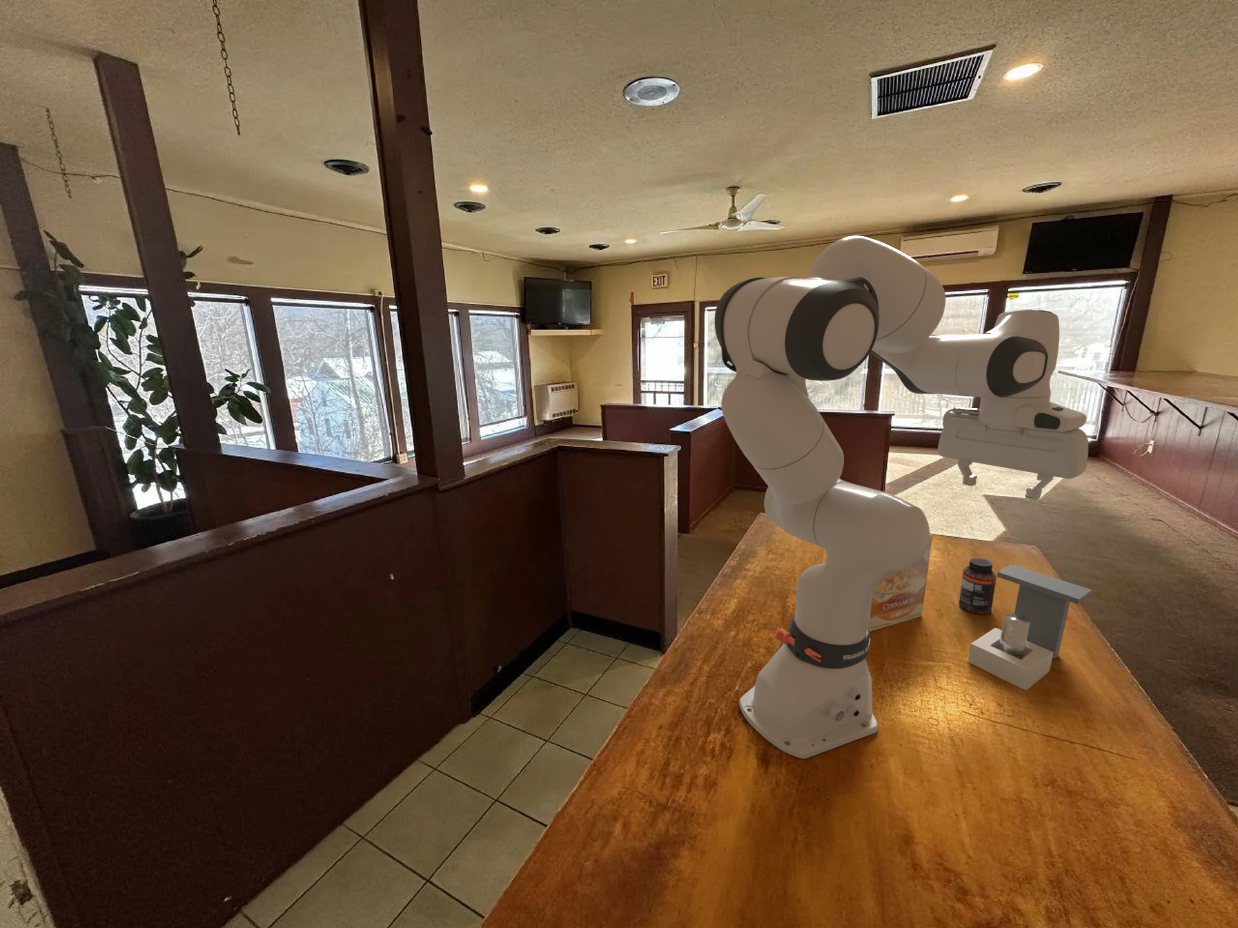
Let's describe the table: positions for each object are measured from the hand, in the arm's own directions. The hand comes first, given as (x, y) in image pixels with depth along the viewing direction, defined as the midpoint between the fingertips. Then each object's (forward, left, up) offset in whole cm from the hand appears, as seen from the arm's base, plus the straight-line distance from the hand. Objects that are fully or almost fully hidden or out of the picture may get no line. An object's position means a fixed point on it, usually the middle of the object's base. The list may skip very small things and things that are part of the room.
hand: (999, 491), depth 84 cm
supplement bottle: (+18, +8, -33) cm, 39 cm away
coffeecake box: (-1, +17, -33) cm, 37 cm away
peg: (+2, -5, -33) cm, 34 cm away
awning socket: (+5, -5, -33) cm, 34 cm away
